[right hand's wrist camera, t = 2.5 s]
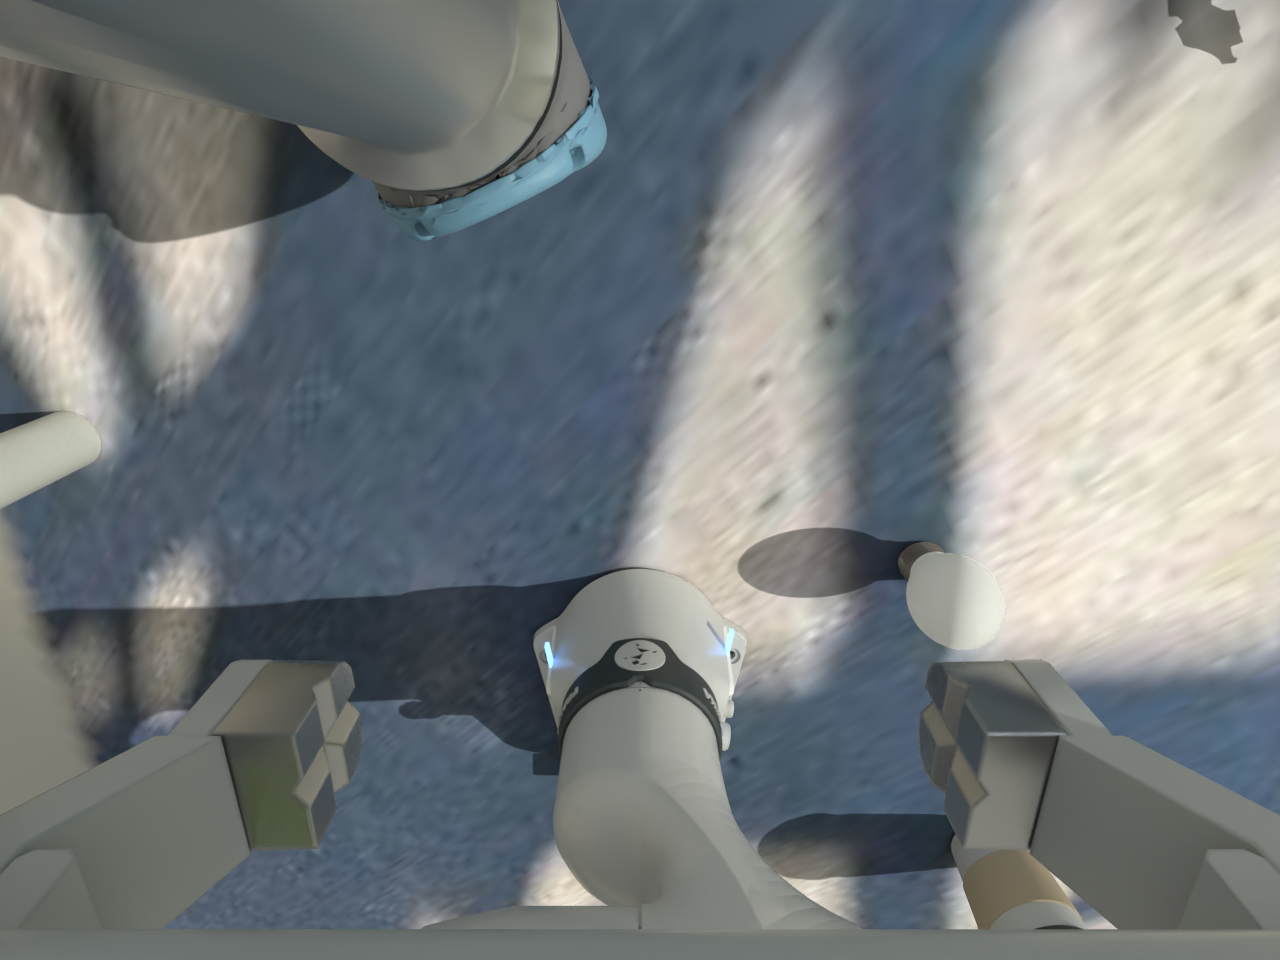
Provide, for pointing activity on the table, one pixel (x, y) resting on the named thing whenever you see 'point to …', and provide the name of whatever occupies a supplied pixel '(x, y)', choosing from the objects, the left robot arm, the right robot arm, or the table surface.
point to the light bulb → (951, 596)
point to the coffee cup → (1013, 891)
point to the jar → (44, 453)
